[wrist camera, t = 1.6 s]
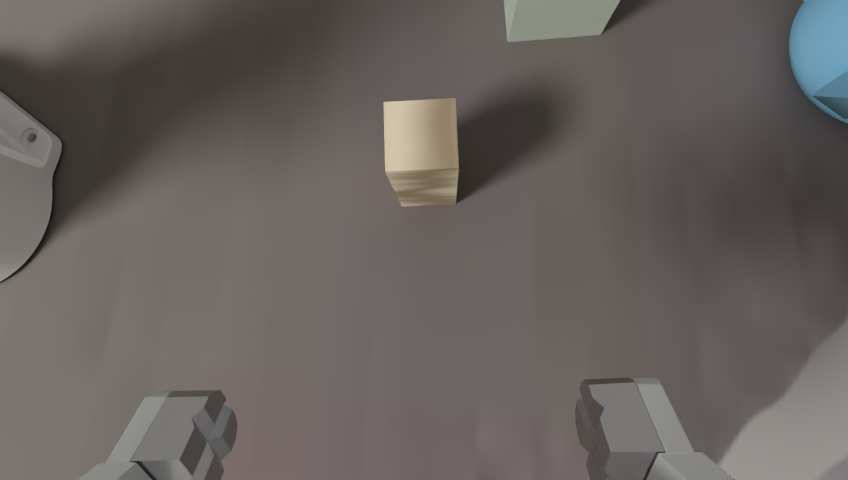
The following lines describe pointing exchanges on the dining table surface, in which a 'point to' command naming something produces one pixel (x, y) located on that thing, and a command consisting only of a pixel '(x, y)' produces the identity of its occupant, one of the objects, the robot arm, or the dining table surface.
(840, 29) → the teapot
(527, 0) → the sage cube
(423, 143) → the beech block
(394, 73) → the dining table surface
